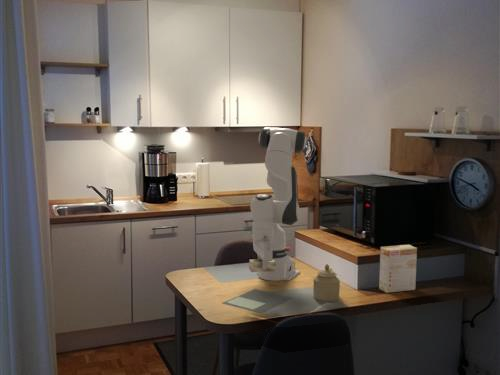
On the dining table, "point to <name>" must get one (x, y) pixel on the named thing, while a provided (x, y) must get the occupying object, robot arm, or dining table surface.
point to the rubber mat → (257, 300)
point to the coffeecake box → (397, 268)
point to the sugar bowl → (326, 285)
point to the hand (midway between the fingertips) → (262, 266)
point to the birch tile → (256, 266)
